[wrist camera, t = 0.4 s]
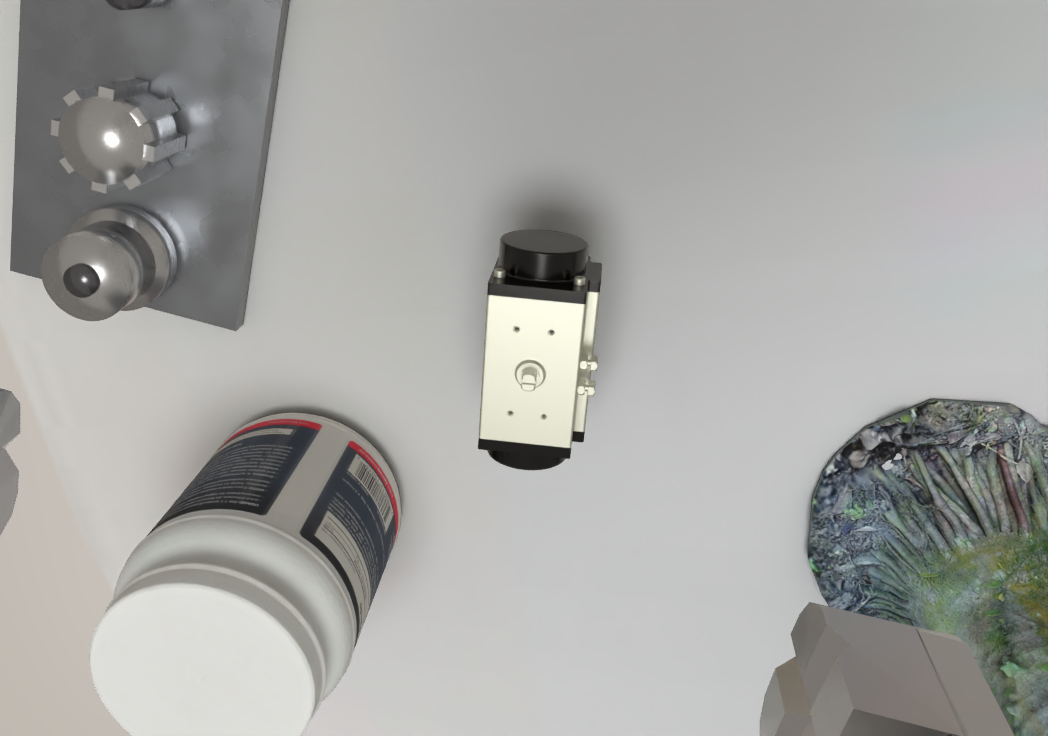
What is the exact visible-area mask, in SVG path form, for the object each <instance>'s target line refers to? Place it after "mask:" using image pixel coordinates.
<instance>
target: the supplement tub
mask: <svg viewBox="0 0 1048 736" xmlns="http://www.w3.org/2000/svg"><path fill="white" fill-rule="evenodd" d="M400 523H401V504H400V496H399V491H398V488H397V484H396V481H395V479H394V476H393V474H392V472H391V470H390V468H389V466H388V465H387V463H386V462H385V460H384V459H383V457H382V456H381V455H380V453H379V452H378V451H377V450H376V449H375V448H374V447H373V446H372V445H371V444H370V443H369V442H368V441H367V440H366V439H365V438H363V437H362V436H361V435H359V434H358V433H357V432H355V431H354V430H352V429H350V428H349V427H347V426H345V425H343V424H341V423H339V422H337V421H334V420H331V419H328V418H325V417H322V416H318V415H312V414H306V413H280V414H274V415H269V416H266V417H262V418H260V419H257V420H254V421H252V422H250V423H248V424H246V425H244V426H242V427H241V428H239V429H238V430H236V431H235V432H233V433H232V434H231V435H230V436H229V437H228V438H227V439H226V440H225V441H224V442H223V443H222V444H221V446H220V447H219V448H218V450H217V451H216V453H215V454H214V455H213V456H212V458H211V459H210V460H209V461H208V463H207V464H206V465H205V466H204V468H203V469H202V470H201V471H200V472H199V474H198V475H197V476H196V477H195V479H194V480H193V481H192V482H191V483H190V485H189V486H188V487H187V488H186V489H185V491H184V492H183V493H182V494H181V496H180V497H179V498H178V499H177V500H176V502H175V503H174V504H173V505H172V506H171V508H170V509H169V510H168V511H167V513H166V514H165V515H164V516H163V517H162V519H161V520H160V521H159V522H158V523H157V525H156V526H155V527H154V528H153V529H152V531H151V532H150V533H149V534H148V535H147V537H146V538H145V539H143V540H142V541H141V542H140V543H139V545H138V546H137V547H136V548H135V549H134V551H133V552H132V554H131V555H130V557H129V558H128V560H127V562H126V563H125V566H124V567H123V569H122V571H121V574H120V576H119V579H118V582H117V585H116V588H115V593H114V598H113V600H112V601H111V603H110V604H109V606H108V608H107V610H106V612H105V613H104V615H103V616H102V618H101V619H100V621H99V622H98V624H97V626H96V628H95V630H94V633H93V636H92V639H91V644H90V653H89V661H90V671H91V676H92V679H93V682H94V685H95V688H96V690H97V692H98V695H99V696H100V698H101V700H102V702H103V703H104V705H105V707H106V708H107V710H108V711H109V712H110V714H111V715H112V716H113V717H114V718H115V720H116V721H117V722H118V723H119V724H120V725H121V726H122V727H123V728H124V729H125V730H126V731H128V733H129V734H131V735H132V736H302V734H303V733H304V731H305V730H306V728H307V726H308V724H309V722H310V720H311V719H312V717H313V716H314V715H315V713H316V711H317V710H318V708H319V706H320V704H321V702H322V701H323V700H324V699H325V698H326V697H327V696H328V695H329V694H330V693H331V692H332V691H333V689H334V688H335V687H336V685H337V684H338V683H339V681H340V679H341V678H342V676H343V675H344V673H345V672H346V670H347V668H348V666H349V664H350V661H351V658H352V654H353V651H354V648H355V645H356V643H357V640H358V638H359V635H360V632H361V630H362V627H363V624H364V622H365V619H366V617H367V614H368V611H369V609H370V606H371V603H372V601H373V598H374V596H375V593H376V590H377V588H378V585H379V582H380V580H381V577H382V574H383V572H384V569H385V566H386V564H387V561H388V558H389V556H390V553H391V551H392V548H393V546H394V544H395V542H396V539H397V537H398V533H399V529H400Z"/></svg>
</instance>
